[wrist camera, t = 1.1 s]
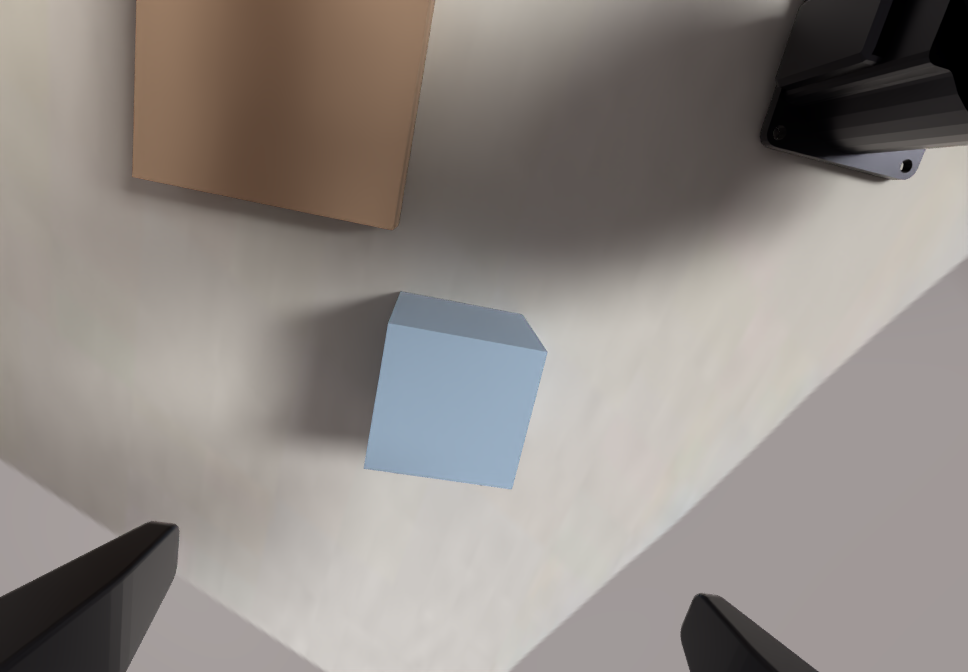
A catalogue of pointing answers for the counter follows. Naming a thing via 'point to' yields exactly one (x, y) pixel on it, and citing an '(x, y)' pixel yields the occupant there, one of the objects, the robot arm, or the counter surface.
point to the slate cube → (454, 392)
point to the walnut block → (282, 101)
